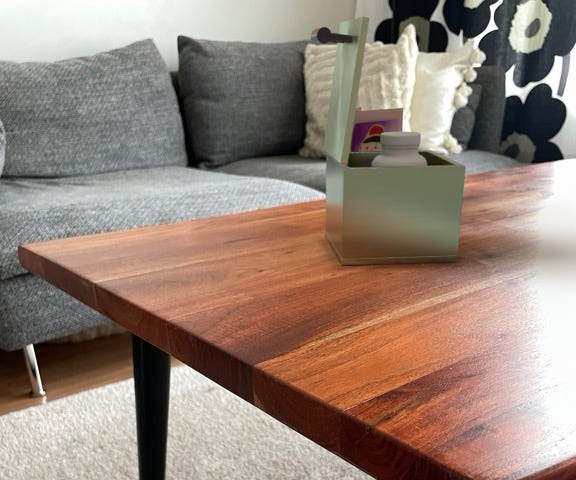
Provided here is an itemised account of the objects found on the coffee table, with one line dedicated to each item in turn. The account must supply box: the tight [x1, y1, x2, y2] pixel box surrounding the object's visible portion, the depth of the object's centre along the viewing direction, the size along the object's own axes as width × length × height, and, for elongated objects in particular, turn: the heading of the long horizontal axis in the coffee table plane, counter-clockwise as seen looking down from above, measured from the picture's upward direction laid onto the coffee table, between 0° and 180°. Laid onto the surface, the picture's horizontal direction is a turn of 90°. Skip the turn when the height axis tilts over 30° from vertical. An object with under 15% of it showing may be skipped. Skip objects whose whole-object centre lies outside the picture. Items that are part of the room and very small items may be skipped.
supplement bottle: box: [371, 131, 427, 167], centre depth 87 cm, size 7×7×13 cm
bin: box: [324, 149, 467, 266], centre depth 88 cm, size 14×15×11 cm
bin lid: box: [310, 16, 370, 165], centre depth 82 cm, size 14×15×5 cm
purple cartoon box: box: [349, 106, 404, 152], centre depth 106 cm, size 11×7×15 cm, turn 129°
